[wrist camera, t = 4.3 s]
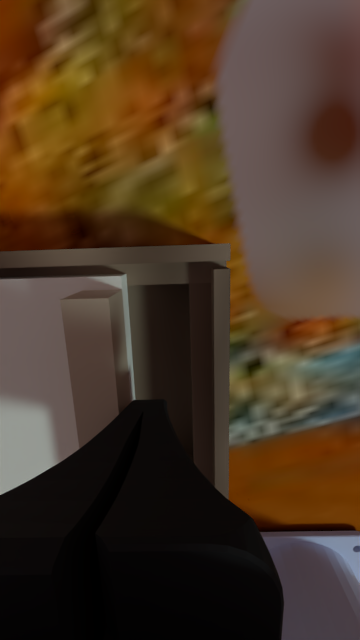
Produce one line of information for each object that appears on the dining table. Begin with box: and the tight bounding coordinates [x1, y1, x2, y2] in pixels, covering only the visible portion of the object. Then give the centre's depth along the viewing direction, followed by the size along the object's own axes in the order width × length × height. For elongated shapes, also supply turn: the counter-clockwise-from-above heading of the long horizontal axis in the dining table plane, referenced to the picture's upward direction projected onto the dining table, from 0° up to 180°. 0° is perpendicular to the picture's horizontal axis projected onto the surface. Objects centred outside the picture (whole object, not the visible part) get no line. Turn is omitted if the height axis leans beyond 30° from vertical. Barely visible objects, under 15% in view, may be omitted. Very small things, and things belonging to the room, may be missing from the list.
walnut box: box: [0, 244, 230, 499], centre depth 14 cm, size 17×13×4 cm
